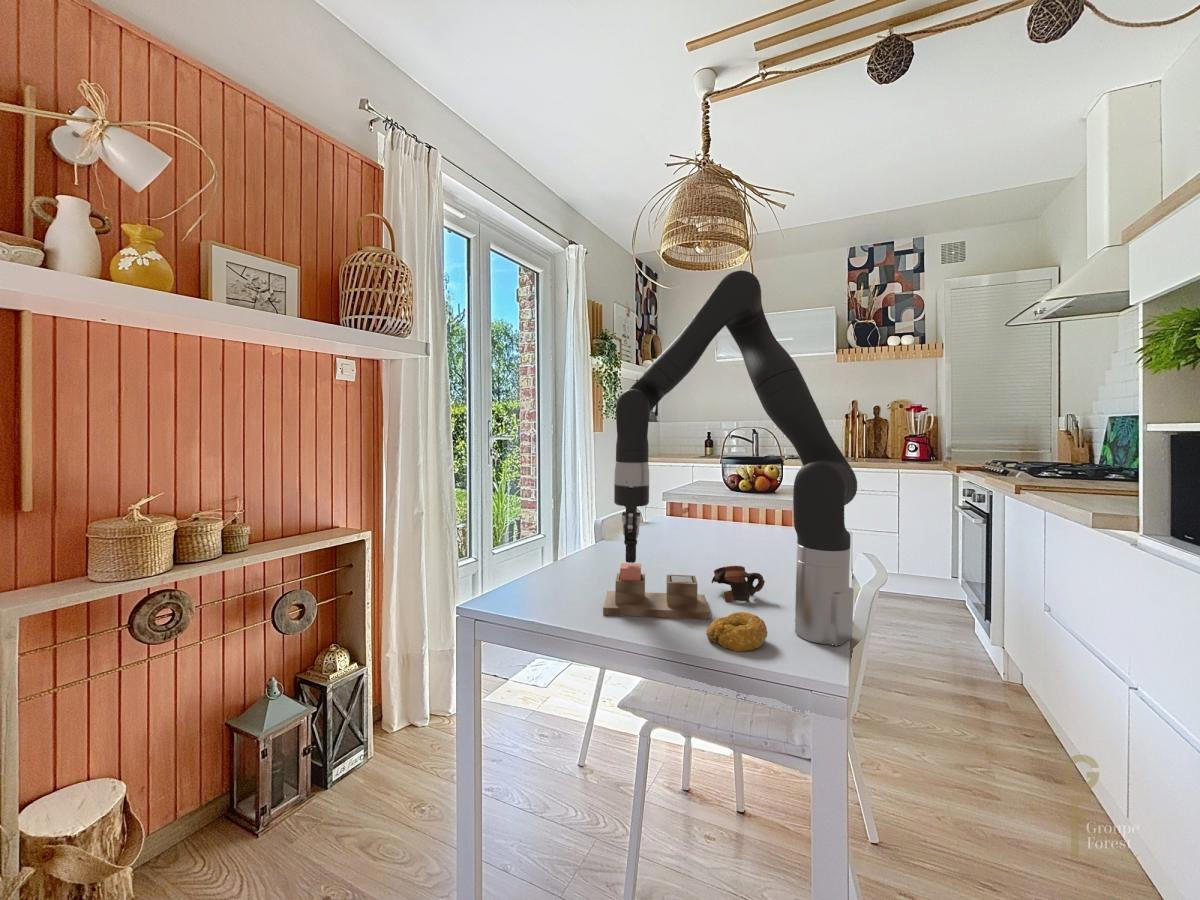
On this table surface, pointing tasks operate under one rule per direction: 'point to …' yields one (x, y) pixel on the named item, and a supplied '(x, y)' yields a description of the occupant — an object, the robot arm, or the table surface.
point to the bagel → (738, 631)
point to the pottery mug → (738, 582)
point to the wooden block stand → (656, 600)
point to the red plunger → (630, 572)
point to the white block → (681, 579)
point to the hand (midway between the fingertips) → (630, 561)
